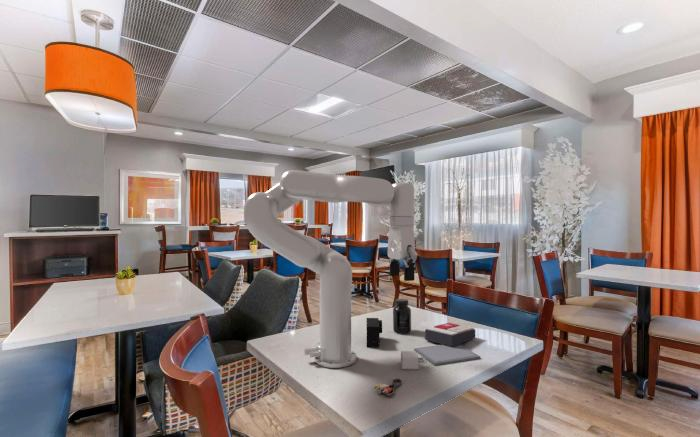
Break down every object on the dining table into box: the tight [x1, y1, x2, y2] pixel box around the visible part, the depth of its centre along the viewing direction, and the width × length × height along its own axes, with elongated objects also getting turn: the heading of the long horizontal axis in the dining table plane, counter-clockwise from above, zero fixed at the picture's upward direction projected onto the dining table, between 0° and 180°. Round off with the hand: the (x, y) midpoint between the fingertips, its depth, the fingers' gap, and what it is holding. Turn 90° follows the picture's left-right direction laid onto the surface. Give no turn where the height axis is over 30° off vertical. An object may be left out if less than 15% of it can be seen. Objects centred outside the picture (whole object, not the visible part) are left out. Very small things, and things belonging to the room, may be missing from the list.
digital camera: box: [366, 317, 383, 349], centre depth 113 cm, size 10×5×7 cm, turn 177°
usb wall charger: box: [400, 350, 428, 371], centre depth 93 cm, size 4×7×4 cm, turn 88°
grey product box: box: [424, 322, 476, 347], centre depth 115 cm, size 11×4×15 cm
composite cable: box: [372, 378, 403, 399], centre depth 80 cm, size 10×5×2 cm, turn 134°
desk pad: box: [413, 344, 481, 366], centre depth 102 cm, size 16×12×1 cm
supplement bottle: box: [392, 298, 412, 335], centre depth 124 cm, size 7×7×12 cm
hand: (401, 278), depth 101 cm, fingers open, 9 cm apart
